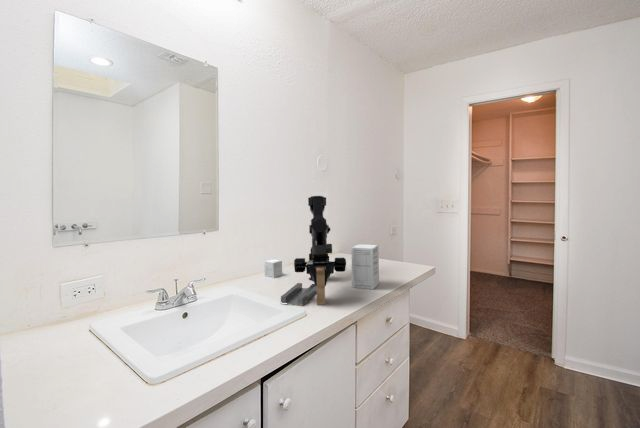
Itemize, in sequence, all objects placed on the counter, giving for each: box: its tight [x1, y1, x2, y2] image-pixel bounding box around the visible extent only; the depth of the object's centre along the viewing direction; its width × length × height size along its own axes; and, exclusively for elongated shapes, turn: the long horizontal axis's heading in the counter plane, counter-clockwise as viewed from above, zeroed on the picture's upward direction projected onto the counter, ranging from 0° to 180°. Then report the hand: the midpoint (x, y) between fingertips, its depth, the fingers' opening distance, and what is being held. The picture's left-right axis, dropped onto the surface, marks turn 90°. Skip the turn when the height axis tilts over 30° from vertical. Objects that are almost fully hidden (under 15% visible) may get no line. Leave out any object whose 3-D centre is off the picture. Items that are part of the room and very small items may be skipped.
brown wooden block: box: [316, 268, 326, 306], centre depth 111 cm, size 4×3×12 cm, turn 2°
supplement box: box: [351, 243, 380, 290], centre depth 131 cm, size 10×9×17 cm
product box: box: [264, 258, 283, 279], centre depth 150 cm, size 6×6×7 cm
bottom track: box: [280, 282, 317, 306], centre depth 118 cm, size 18×8×3 cm, turn 165°
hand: (320, 285), depth 109 cm, fingers closed on brown wooden block, 3 cm apart
